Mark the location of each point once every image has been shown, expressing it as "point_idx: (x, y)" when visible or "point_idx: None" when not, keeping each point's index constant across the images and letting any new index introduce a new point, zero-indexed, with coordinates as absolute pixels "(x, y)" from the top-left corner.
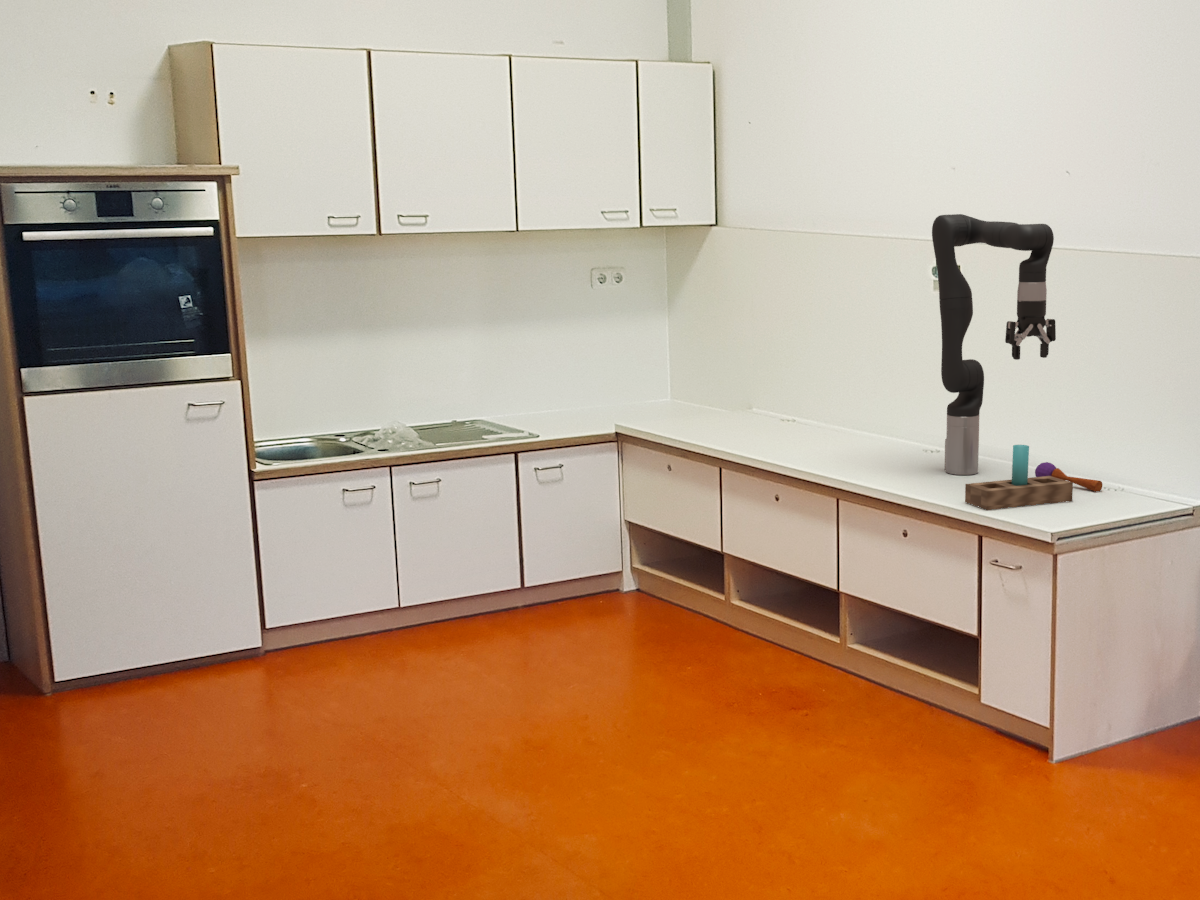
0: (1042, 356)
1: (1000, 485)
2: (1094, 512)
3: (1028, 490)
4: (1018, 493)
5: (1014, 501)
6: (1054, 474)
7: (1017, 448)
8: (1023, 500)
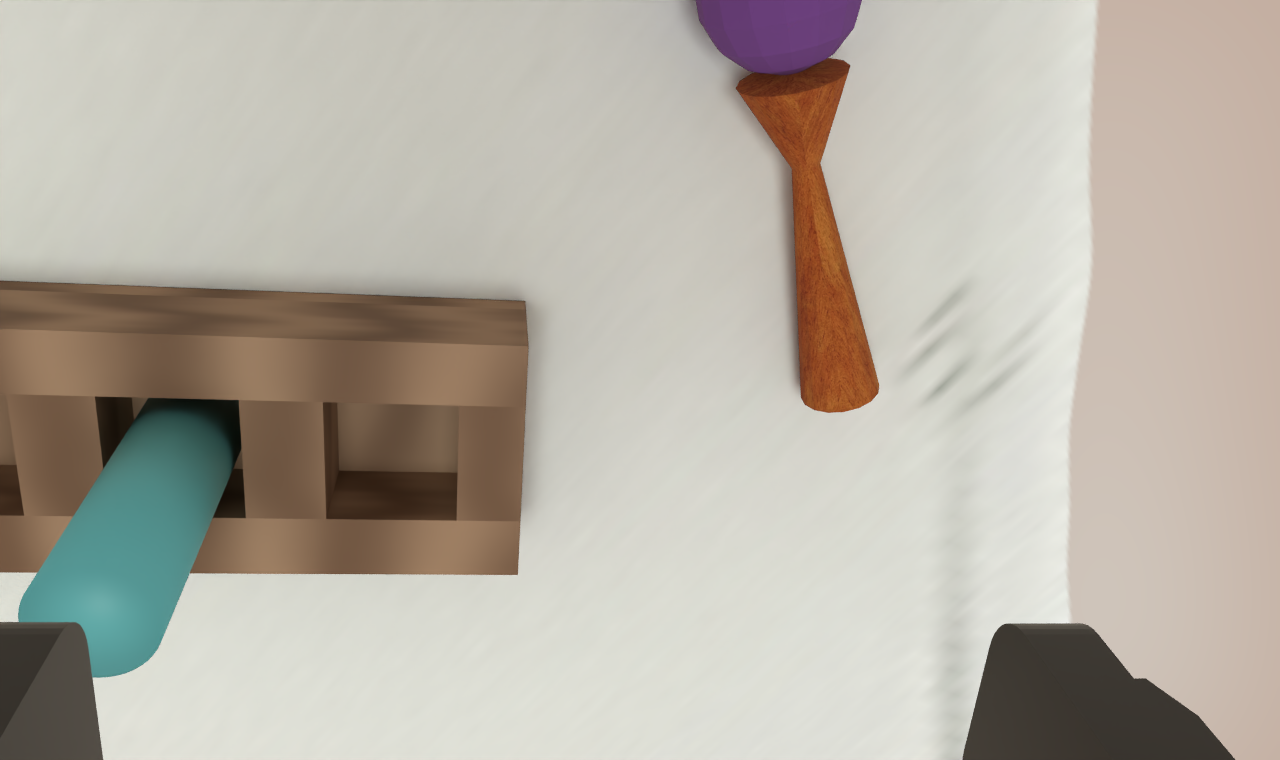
0: (991, 716)
1: (16, 448)
2: (445, 742)
3: None
4: None
5: None
6: (755, 110)
7: None
8: None
